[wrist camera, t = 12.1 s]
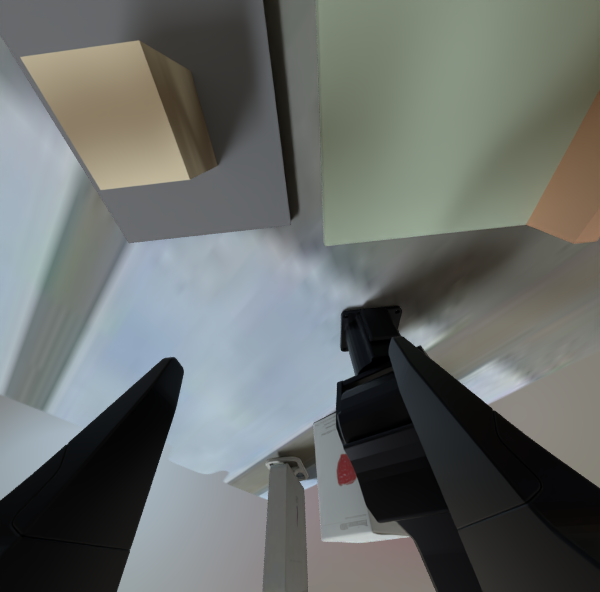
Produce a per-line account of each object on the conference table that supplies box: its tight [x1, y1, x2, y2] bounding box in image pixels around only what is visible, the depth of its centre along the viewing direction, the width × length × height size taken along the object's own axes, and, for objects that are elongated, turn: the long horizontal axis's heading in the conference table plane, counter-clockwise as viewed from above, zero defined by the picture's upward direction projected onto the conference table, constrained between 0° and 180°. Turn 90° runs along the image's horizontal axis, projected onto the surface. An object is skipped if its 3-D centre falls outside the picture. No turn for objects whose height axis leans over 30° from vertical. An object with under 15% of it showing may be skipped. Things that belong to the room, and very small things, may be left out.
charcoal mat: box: [0, 0, 291, 243], centre depth 13 cm, size 13×13×1 cm
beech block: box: [20, 40, 218, 190], centre depth 11 cm, size 4×4×5 cm
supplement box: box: [313, 413, 410, 543], centre depth 35 cm, size 9×9×15 cm
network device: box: [263, 457, 309, 592], centre depth 50 cm, size 26×9×20 cm, turn 10°
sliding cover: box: [315, 0, 600, 246], centre depth 7 cm, size 14×12×3 cm
